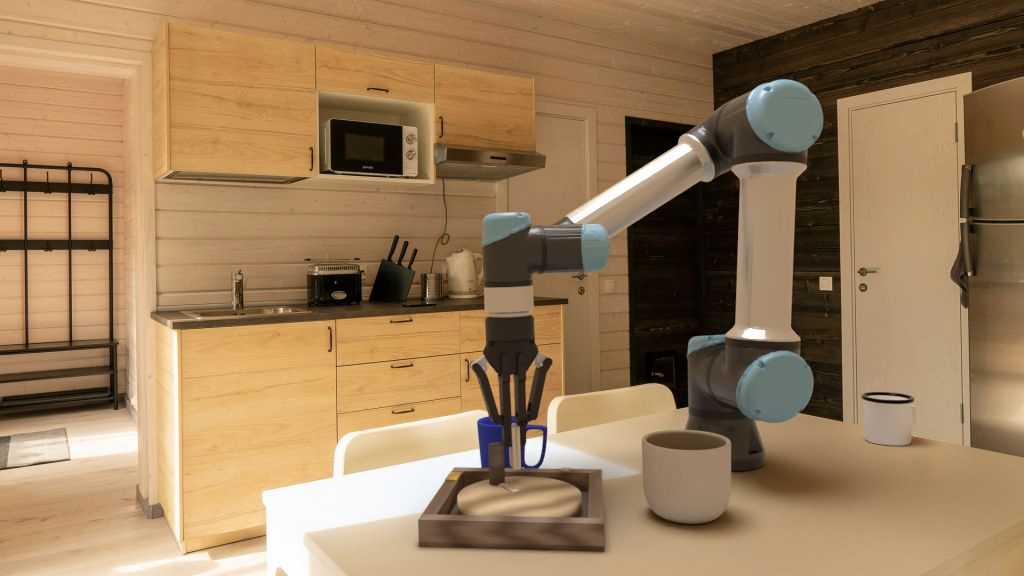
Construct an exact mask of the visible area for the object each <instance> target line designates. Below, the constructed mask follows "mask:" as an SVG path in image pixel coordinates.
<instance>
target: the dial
mask: <svg viewBox="0 0 1024 576" xmlns="http://www.w3.org/2000/svg"><path fill="white" fill-rule="evenodd" d="M488 446H489V479H488V480H484V481H480V482H476V483H474V484H471V485H469V486H467V487H465V488H463V489H462V490H461V491H460V492H459V493H458V496H457V505H458V515H479V516H526V517H573V518H580V516H581V514H582V495H581V492H580V490H579V489H578V488H576V487H575V486H573V485H571V484H569V483H566V482H563V481H560V480H556V479H551V478H544V477H533V476H513V477H505V460H504V443H499V442H495V443H490V444H488Z"/></svg>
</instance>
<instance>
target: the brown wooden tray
mask: <svg viewBox="0 0 1024 576" xmlns="http://www.w3.org/2000/svg"><path fill="white" fill-rule="evenodd" d="M602 469H603V468H599V469H598V468H592V469H591V468H570V467H561V468H542V467H541V468H540V467H539V468H524V467H523V468H521V469H517V470H514V469H513V468H505V477H513V476H533V477H544V478H551V479H556V480H560V481H563V482H566V483H569V484H571V485H573V486H575V487H576V488H578V489H579V490H580V492H581V495H582V514H581V516H580V518H573V517H526V516H479V515H458V505H457V496H458V493H459V492H460V491H461V490H462V489H463V488H465V487H467V486H469V485H471V484H474V483H476V482H480V481H484V480H488V479H489V468H481V467H465V466H463V467H460V466H459V467H457V466H456V467H455V466H454V467H453V468H452V470H451V471H449V473H448V475H446V477H445V478H444V481H443V482H442V484H441V486H440V487H439V489H438V490H437V492H436V493H435V494H434V496H433V497H432V499H431V500H430V501H429V503H428V505H427V506H426V508H425V509H424V510H423V511H422V513H421V515H420V516H419V517H418V520H417V525H418V526H417V527H418V530H417V531H418V547H434V548H435V547H436V548H437V547H438V548H440V547H441V548H468V549H469V548H471V549H472V548H476V549H477V548H478V549H506V550H508V549H509V550H510V549H511V550H512V549H514V550H515V549H516V550H542V551H543V550H547V551H548V550H551V551H552V550H553V551H555V550H556V551H584V552H585V551H587V552H588V551H589V552H591V551H592V552H605V520H604V519H605V518H604V517H605V516H604V514H605V513H604V497H603V496H604V491H603V489H604V488H603V470H602Z"/></svg>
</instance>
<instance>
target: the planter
mask: <svg viewBox="0 0 1024 576" xmlns="http://www.w3.org/2000/svg"><path fill="white" fill-rule="evenodd" d="M641 455H642V456H641V457H642V458H641V459H642V465H641V466H642V483H643V486H642V487H643V492H644V497H645V500H646V501H647V504H648V506H649V508H650V509H651V510H652V512H654V514H656V515H657V516H658V517H660V518H662V519H664V520H666V521H669V522H674V523H678V524H687V525H689V524H690V525H697V524H698V525H700V524H706V523H710V522H713V521H715V520H716V519H718V518H719V517H720V516H721V515H723V514H724V512H725V511H726V509H727V507H728V505H729V501H730V498H731V486H732V471H731V441H730V440H729V439H728V438H726V437H724V436H722V435H719V434H715V433H710V432H704V431H696V430H685V429H666V430H659V431H658V430H656V431H652V432H650V433H646V434H645V435H643V436H642V437H641Z"/></svg>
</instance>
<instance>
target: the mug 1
mask: <svg viewBox="0 0 1024 576" xmlns="http://www.w3.org/2000/svg"><path fill="white" fill-rule="evenodd" d="M512 423H516V421H515V415H512ZM476 424H477V425H476V426H477V436H478V447H479V455H480V456H479V458H480V466H481V467H480V468H489V446H488V444H490V443H495V442H499V443H503V442H502V426H501V425H500V424H495V423H493V422H492V421H491V420H490V418H489V415H488V416H484V417H481V418H479V419H477V421H476ZM531 430H539V431H542V445H541V446H542V447H541V453H540V457H539V460H538V462H537V463H536V464H535V465H528V464H527V463H526V459H525V458H526V457H525V456H526V445H524V446H520V450H521V468H540V467H541V466H542V465H543V464H544V460H545V457H546V451H547V445H548V443H547V442H548V427H547V426H546V425H541V424H530V423H528V424H527V426H526V434H527V432H528V431H531ZM504 460H505V468H512V467H511V466H510V460H509V447H505V446H504Z"/></svg>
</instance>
